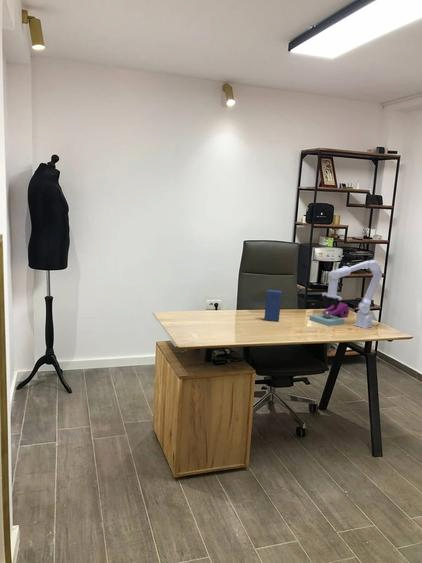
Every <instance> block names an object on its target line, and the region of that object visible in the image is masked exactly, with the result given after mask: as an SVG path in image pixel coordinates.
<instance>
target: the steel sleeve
mask: <svg viewBox="0 0 422 563" xmlns="http://www.w3.org/2000/svg"><path fill="white" fill-rule="evenodd" d="M323 311H324V310H323ZM330 314H331V312H330V311H324V316H323V318H326V319H330Z"/></svg>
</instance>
